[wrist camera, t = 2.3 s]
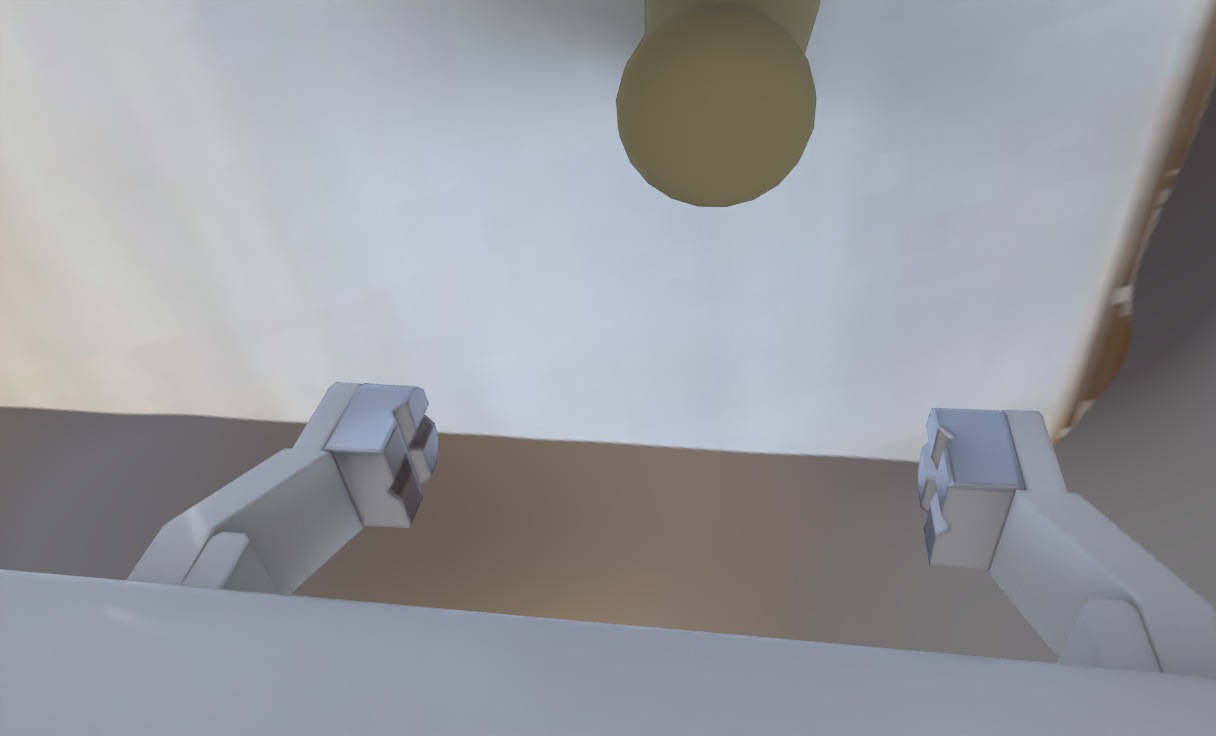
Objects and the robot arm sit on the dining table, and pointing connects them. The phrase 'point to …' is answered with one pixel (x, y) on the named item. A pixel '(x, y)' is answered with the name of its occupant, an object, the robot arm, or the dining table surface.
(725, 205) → the olive tapered cylinder
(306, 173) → the dining table surface
